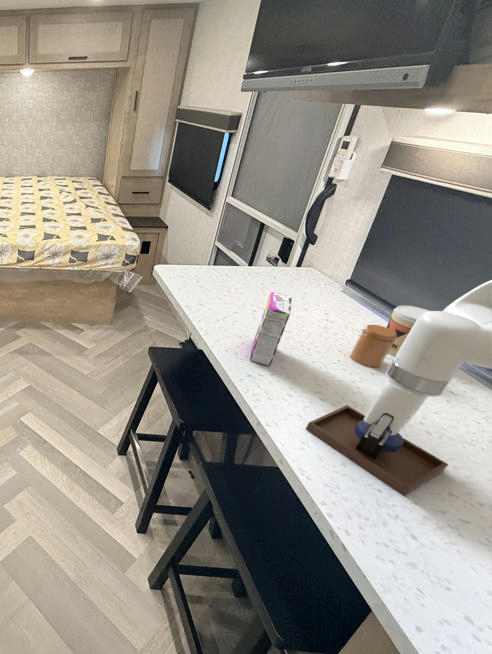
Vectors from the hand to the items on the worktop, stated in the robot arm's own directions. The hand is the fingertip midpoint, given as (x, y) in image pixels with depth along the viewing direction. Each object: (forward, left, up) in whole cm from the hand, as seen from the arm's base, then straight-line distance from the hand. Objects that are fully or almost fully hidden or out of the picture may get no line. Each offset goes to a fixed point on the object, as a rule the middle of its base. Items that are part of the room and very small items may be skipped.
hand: (373, 445), depth 80 cm
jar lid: (0, 0, +3) cm, 3 cm away
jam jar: (+18, -33, -1) cm, 38 cm away
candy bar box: (+31, -10, -1) cm, 33 cm away
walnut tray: (0, 0, -1) cm, 1 cm away
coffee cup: (+17, -46, -1) cm, 49 cm away
